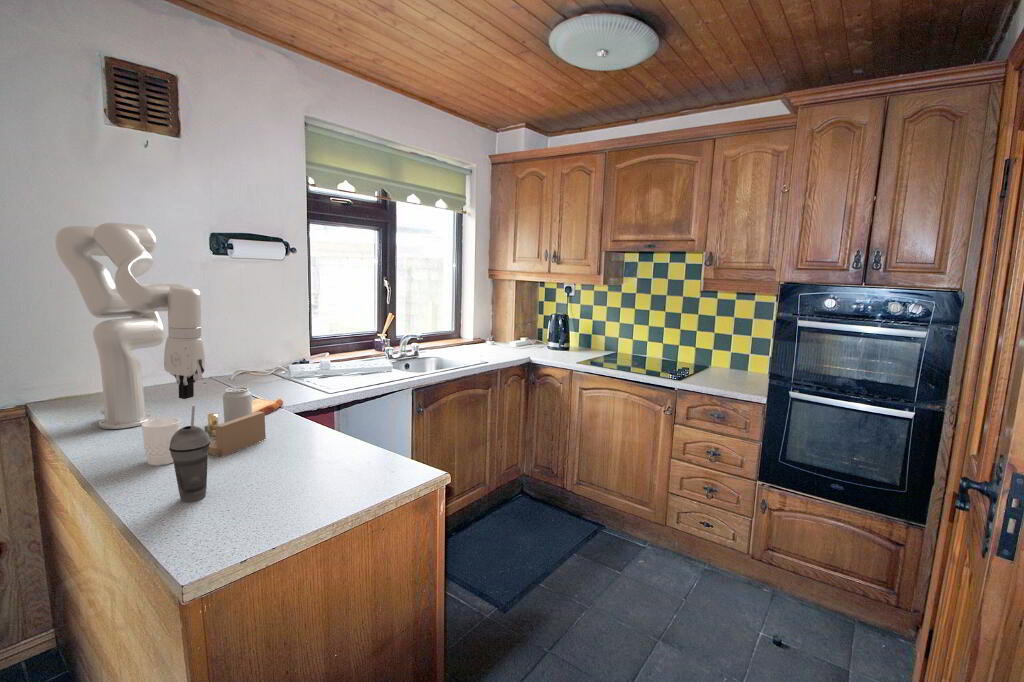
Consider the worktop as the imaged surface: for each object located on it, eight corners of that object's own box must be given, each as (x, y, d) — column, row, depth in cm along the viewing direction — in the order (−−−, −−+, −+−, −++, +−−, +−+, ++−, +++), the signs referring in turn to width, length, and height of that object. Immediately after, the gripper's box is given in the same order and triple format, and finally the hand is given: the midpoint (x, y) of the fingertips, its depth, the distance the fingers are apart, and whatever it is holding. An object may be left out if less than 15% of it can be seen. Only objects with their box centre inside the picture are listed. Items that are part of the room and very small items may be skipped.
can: (240, 432, 145) (238, 392, 143) (218, 430, 146) (216, 390, 145) (258, 424, 152) (256, 386, 150) (237, 422, 154) (235, 385, 152)
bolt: (206, 434, 136) (205, 415, 135) (214, 432, 138) (213, 412, 137) (232, 439, 133) (231, 419, 132) (240, 436, 135) (239, 416, 134)
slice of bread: (236, 425, 153) (236, 413, 152) (221, 411, 165) (220, 400, 165) (296, 414, 165) (296, 403, 164) (277, 402, 178) (277, 392, 177)
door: (149, 442, 135) (147, 414, 134) (196, 427, 148) (194, 401, 147) (223, 456, 127) (221, 426, 126) (265, 439, 140) (264, 412, 139)
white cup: (141, 468, 118) (138, 428, 117) (147, 457, 125) (144, 419, 124) (181, 463, 122) (178, 424, 120) (184, 452, 129) (182, 415, 127)
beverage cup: (185, 489, 108) (179, 401, 105) (219, 489, 109) (214, 401, 106) (164, 505, 101) (157, 411, 98) (202, 505, 102) (196, 411, 99)
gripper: (151, 330, 133) (153, 396, 137) (193, 338, 129) (194, 405, 132) (177, 327, 141) (179, 390, 144) (218, 335, 136) (218, 399, 139)
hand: (186, 397), depth 138 cm, fingers closed
